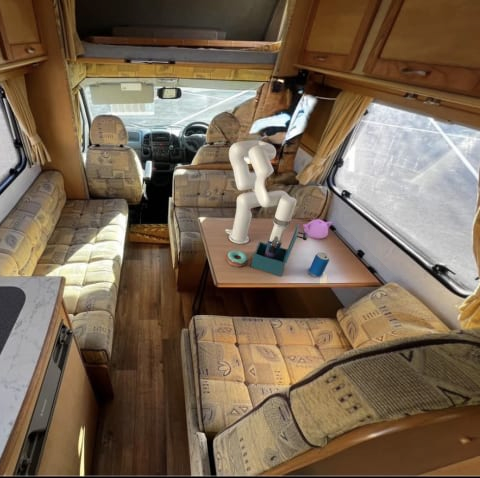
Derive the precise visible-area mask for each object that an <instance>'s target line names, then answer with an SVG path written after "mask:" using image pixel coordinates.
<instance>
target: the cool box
mask: <svg viewBox="0 0 480 478" xmlns="http://www.w3.org/2000/svg"><path fill="white" fill-rule="evenodd" d="M267 243H268V242H267ZM267 243H266V242H263V241H259V242H258V244H257V246H256V249H255V251H254V253H253V257H252V260H251V264H250V268H254V269H256V270H260V271H263V272H266V273H269V274H272V275H275V276H279V277H281V276H282V273H283V270H284V267H285V264H286V263H285V259H286V255H287V250H288V248H284V247H282V246H280V249H279V251H278V253H277V255H276V258H275V260H274V259H271V258H268V257H264V256H265V252H266V247H267Z"/></svg>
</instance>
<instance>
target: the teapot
mask: <svg viewBox="0 0 480 478" xmlns="http://www.w3.org/2000/svg"><path fill="white" fill-rule="evenodd" d="M332 223H333V222H332V221H324V220H323V219H319V218H318V219H312V220H311V221H309V222H307V223H304V224H302V228H303V230H304V233H305V232H306V233H307V234H308V235H307V237H309V238H312V239H317V240H322V239H324V238H327V236H328V234H329V228H330V227H331V225H332Z"/></svg>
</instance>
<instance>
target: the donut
mask: <svg viewBox="0 0 480 478" xmlns="http://www.w3.org/2000/svg"><path fill="white" fill-rule="evenodd" d="M226 262H228V263H229V264H230V265H231V266H234V267H238V268H240V267H244V266H246V265H247V264H248V262H249V258H248V255H247V254H246V253H244V252H243V251H241V250H237V249H236V250H230V251H229V252H228V253H226Z"/></svg>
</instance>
